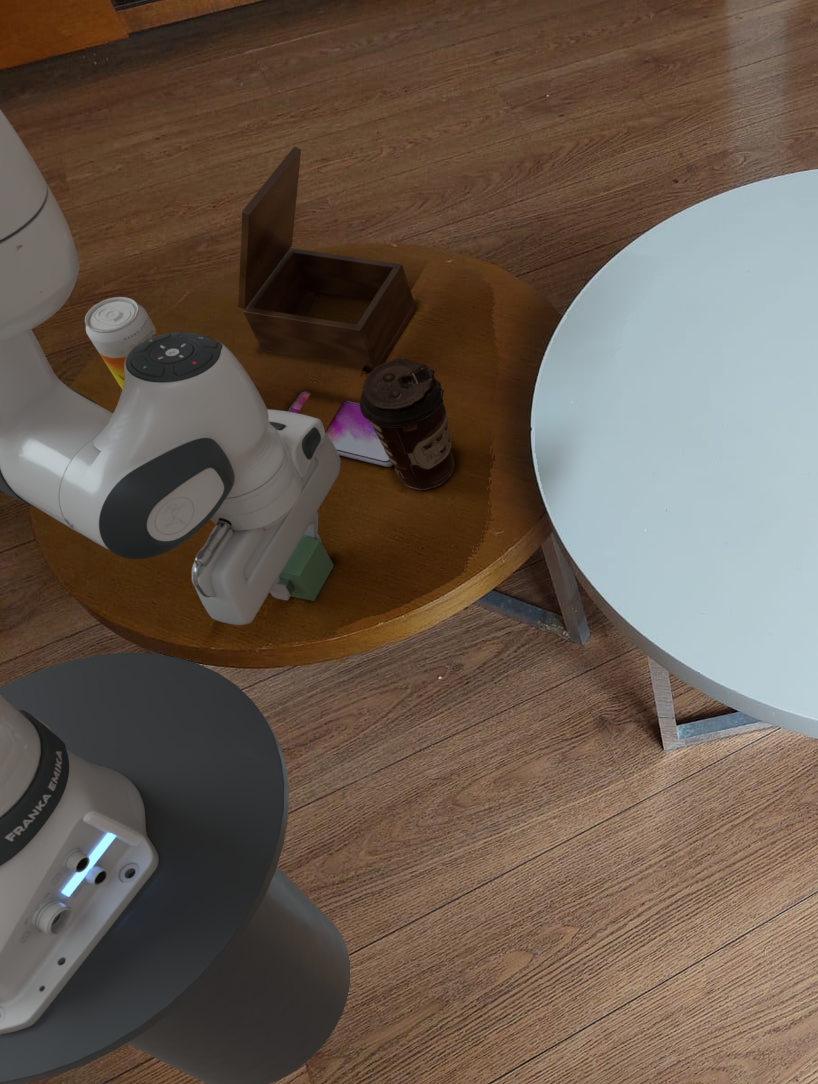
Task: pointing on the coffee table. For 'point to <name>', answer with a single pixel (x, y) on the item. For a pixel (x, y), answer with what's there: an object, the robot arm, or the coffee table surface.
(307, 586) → the block
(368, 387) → the coffee cup
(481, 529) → the coffee table surface
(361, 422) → the purple white flat pieces
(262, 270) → the lid
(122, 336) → the beer can
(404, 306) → the chest
